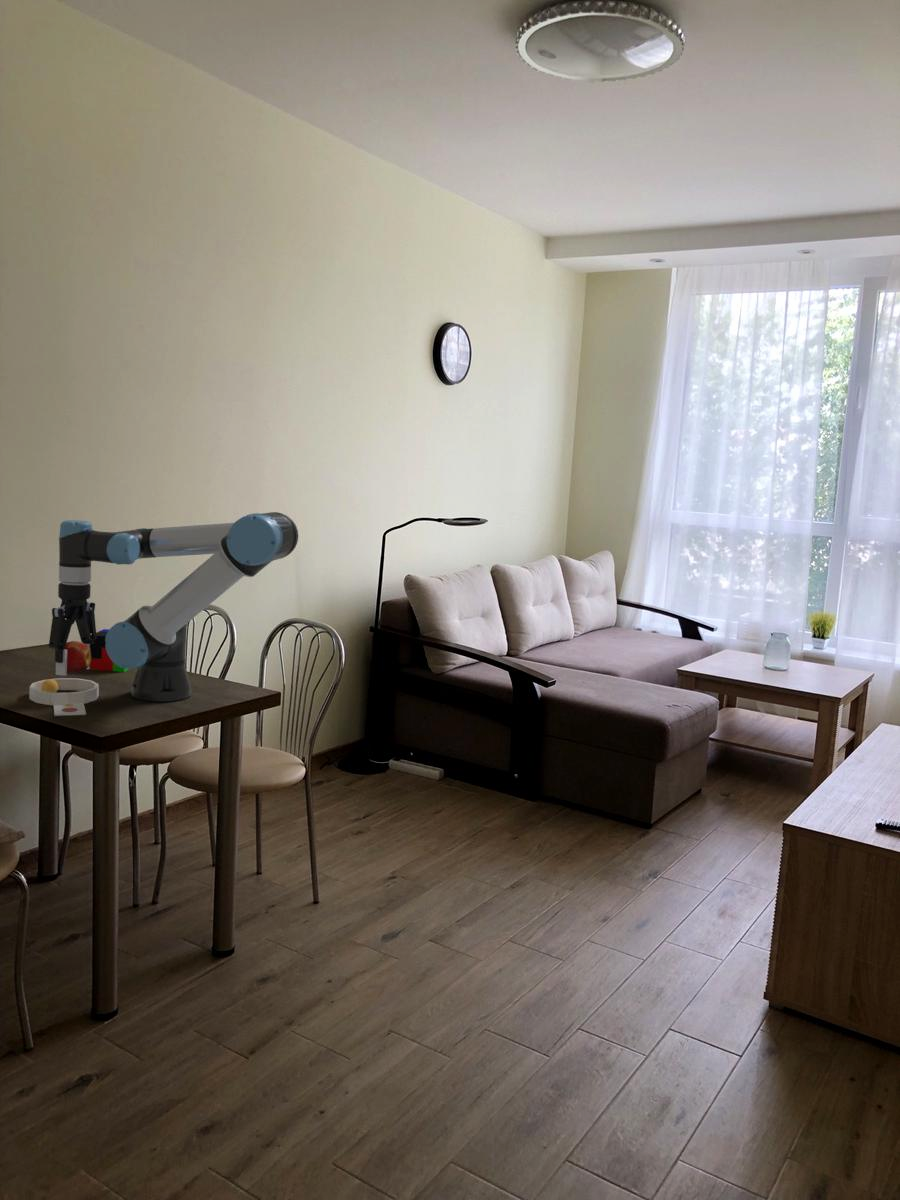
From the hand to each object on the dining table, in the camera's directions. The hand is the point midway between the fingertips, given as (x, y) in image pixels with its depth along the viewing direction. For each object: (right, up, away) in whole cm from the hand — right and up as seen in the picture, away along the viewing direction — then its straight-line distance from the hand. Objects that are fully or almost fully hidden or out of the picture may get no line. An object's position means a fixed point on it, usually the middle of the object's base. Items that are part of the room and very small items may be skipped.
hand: (72, 671), depth 253 cm
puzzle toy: (-2, -2, +38) cm, 38 cm away
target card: (+3, -9, -9) cm, 13 cm away
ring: (-3, -7, +2) cm, 7 cm away
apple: (0, 0, 0) cm, 0 cm away
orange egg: (-7, -6, +3) cm, 10 cm away
